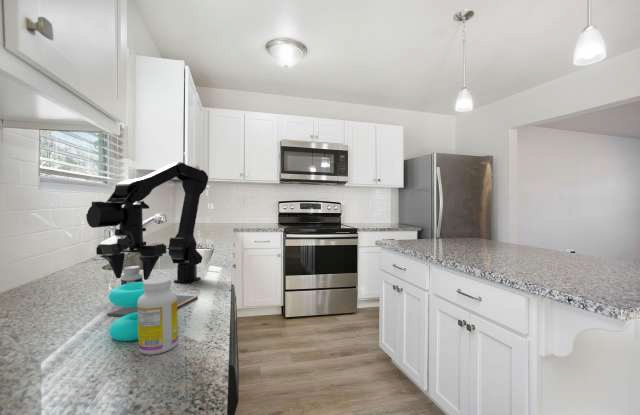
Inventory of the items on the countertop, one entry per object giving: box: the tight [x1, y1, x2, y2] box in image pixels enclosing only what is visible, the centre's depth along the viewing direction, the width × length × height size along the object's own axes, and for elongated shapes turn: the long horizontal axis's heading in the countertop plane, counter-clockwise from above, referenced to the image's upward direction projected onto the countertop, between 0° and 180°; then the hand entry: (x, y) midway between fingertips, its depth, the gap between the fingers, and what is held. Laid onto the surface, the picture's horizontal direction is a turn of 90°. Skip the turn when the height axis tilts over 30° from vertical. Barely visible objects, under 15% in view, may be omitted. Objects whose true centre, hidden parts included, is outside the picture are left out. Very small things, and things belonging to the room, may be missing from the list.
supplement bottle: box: [137, 277, 179, 356], centre depth 58 cm, size 7×7×13 cm
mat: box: [106, 294, 199, 318], centre depth 81 cm, size 16×14×1 cm
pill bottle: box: [120, 265, 143, 286], centre depth 88 cm, size 5×5×9 cm
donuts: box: [108, 280, 145, 342], centre depth 65 cm, size 10×10×10 cm
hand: (132, 278), depth 88 cm, fingers open, 9 cm apart
